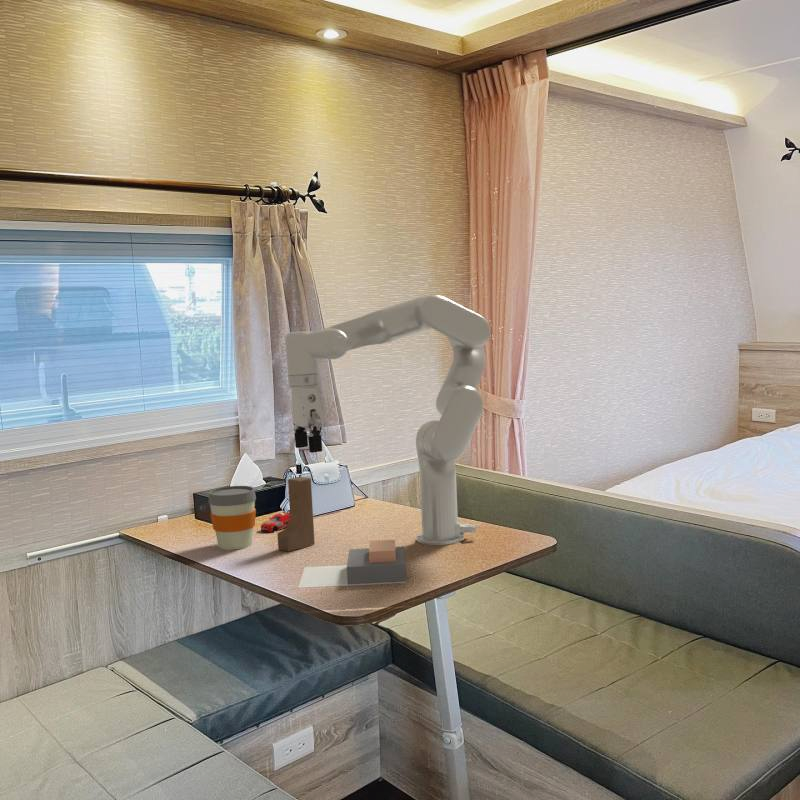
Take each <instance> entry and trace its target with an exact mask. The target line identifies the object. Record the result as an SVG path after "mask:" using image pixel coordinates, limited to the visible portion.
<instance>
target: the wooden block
mask: <svg viewBox="0 0 800 800" xmlns="http://www.w3.org/2000/svg"><path fill="white" fill-rule="evenodd" d="M287 485H288V486H287V487H288V500H289V501H288V502H289V503H288V504H289V513H290V520H289V524H288V526H287V527H286V528H284V529H282V530H281V531H279V532H277V546H278V547H277V548H278V550H280V551H284V552H287V553H289V552H293V551H297V550H301V549H303V548H307V547H310V546H314V545H315V529H314V527H315V526H314V510H313V509H314V508H313V495H312V494H313V493H312V492H313V491H312V479H311V478H310V477H305V476H297V477H290V478H289V479H287Z"/></svg>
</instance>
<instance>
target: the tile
mask: <svg viewBox="0 0 800 800" xmlns="http://www.w3.org/2000/svg"><path fill="white" fill-rule="evenodd" d="M368 544H369V545H368V548H369V563H372V562H392V561H396V550H395V547H396V539H382V540H381V539H379V540H369V543H368Z"/></svg>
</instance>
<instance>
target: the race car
mask: <svg viewBox="0 0 800 800" xmlns="http://www.w3.org/2000/svg"><path fill="white" fill-rule="evenodd" d="M289 520H290V512H280V513H277V514H275V515H273V516H272V517H269V518H268V519H267V520H266V521H264V522H262V523H261V524H260V530H261V532H268V533H269V532H272V531H273V532H272V533H275V532H274V531H276V532H278V531H280V529H281V530H284V529H286V527H287V526H288V524H289ZM283 528H284V529H283ZM277 530H278V531H277Z"/></svg>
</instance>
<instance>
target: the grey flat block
mask: <svg viewBox="0 0 800 800" xmlns="http://www.w3.org/2000/svg"><path fill="white" fill-rule="evenodd" d="M348 550H349V551H348V557H347V563H346V565H347V581H348V585H349V586H351V585H350V584H369V585H371V584H370V583H388V584H390V583H389V582H406V583H407V578H406V577H407V576H406V574H407V572H406V557H405V547H404V546H395V550H396V561H392V562H372V563H369V547H367V548H351V549H350V548H349V549H348Z"/></svg>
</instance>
